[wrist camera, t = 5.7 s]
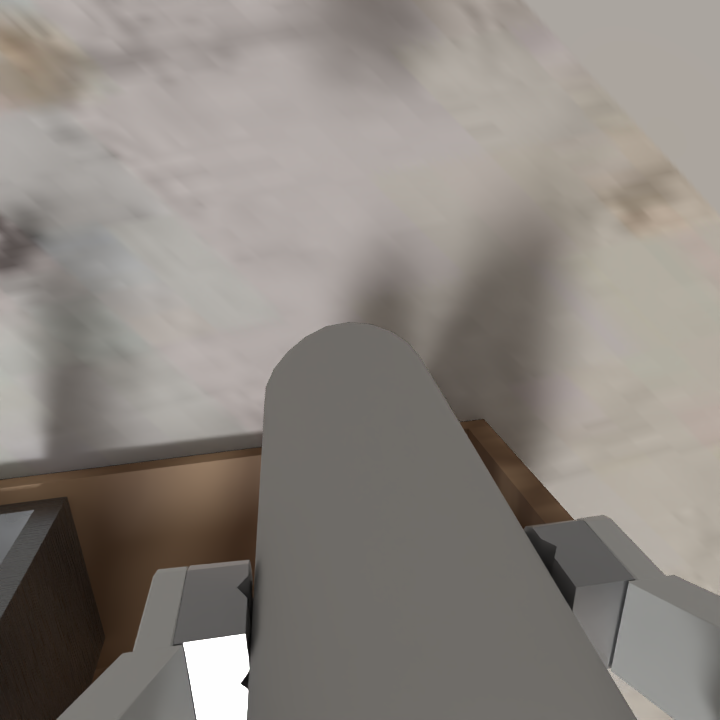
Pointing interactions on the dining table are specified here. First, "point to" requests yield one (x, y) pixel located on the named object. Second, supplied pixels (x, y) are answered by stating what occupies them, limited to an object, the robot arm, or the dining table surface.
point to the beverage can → (398, 558)
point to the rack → (204, 519)
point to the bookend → (44, 612)
